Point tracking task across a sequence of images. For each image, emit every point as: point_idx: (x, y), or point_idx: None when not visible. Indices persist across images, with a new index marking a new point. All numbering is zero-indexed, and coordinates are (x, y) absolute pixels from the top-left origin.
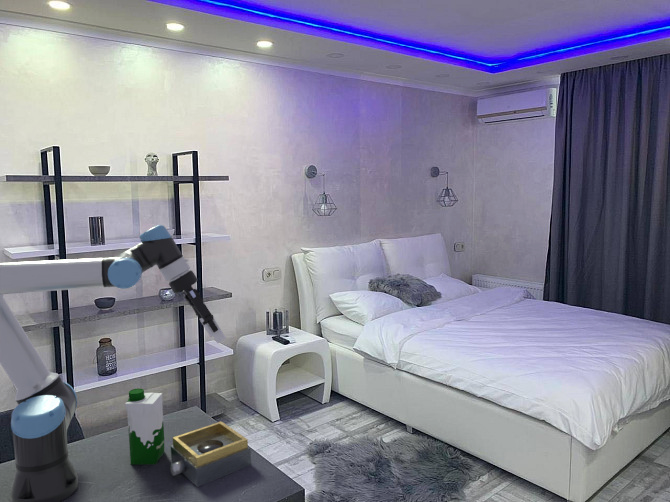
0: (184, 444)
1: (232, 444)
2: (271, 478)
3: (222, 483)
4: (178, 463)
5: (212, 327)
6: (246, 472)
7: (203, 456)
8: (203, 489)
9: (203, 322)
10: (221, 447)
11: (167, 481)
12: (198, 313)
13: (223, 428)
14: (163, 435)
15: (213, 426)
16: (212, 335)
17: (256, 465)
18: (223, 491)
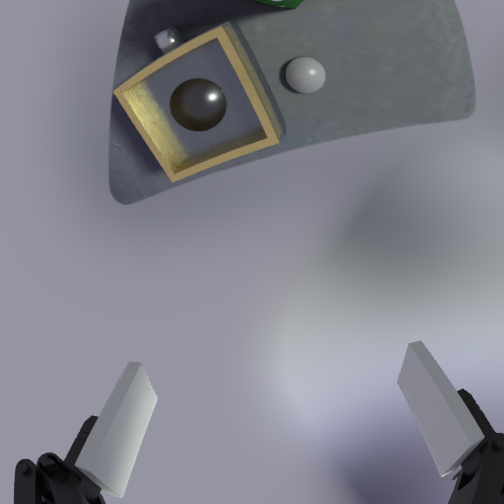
0: (174, 56)
1: (155, 154)
2: (147, 183)
3: None
4: (162, 44)
5: (80, 442)
6: None
7: (121, 102)
8: None
9: (42, 467)
10: (146, 134)
11: (165, 24)
12: (470, 491)
13: (251, 141)
14: (268, 3)
15: (260, 121)
16: (119, 400)
17: None
18: (121, 117)
